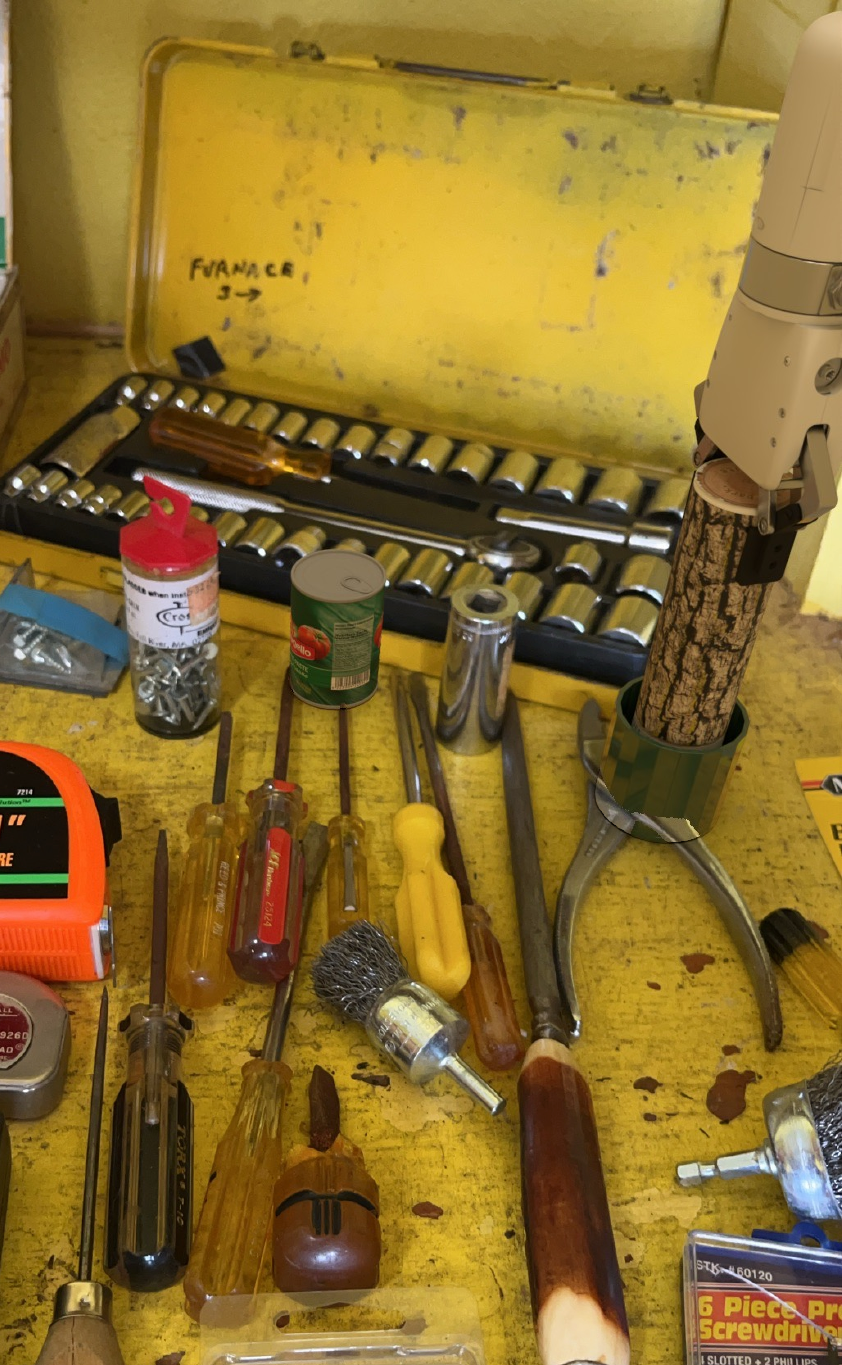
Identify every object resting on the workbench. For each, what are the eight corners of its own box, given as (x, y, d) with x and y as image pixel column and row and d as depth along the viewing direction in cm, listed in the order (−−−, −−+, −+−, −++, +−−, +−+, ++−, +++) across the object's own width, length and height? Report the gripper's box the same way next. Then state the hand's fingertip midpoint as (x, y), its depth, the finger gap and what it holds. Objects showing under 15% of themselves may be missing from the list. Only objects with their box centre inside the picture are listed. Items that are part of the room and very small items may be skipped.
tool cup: (684, 754, 104) (711, 665, 98) (741, 832, 98) (773, 742, 91) (574, 771, 103) (595, 681, 96) (625, 852, 96) (650, 761, 90)
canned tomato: (270, 683, 110) (270, 573, 103) (329, 645, 114) (333, 537, 107) (338, 722, 107) (343, 611, 99) (396, 682, 111) (406, 572, 103)
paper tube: (703, 814, 95) (800, 516, 78) (613, 794, 97) (689, 497, 79) (712, 760, 100) (806, 467, 82) (627, 742, 101) (700, 450, 84)
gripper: (958, 328, 66) (849, 615, 79) (790, 219, 78) (719, 484, 91) (831, 340, 65) (741, 631, 78) (680, 227, 77) (623, 495, 90)
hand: (730, 549), depth 84 cm, fingers closed on paper tube, 6 cm apart
